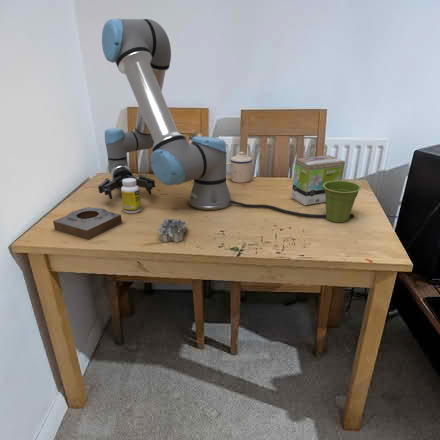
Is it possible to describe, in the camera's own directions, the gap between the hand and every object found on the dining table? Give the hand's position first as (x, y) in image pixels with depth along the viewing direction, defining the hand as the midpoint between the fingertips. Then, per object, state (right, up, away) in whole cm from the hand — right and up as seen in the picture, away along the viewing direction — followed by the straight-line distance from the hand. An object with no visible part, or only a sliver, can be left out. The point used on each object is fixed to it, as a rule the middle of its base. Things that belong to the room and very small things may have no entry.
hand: (130, 193), depth 142 cm
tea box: (+67, 0, +12) cm, 68 cm away
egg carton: (+16, -17, -15) cm, 28 cm away
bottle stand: (-12, -13, -8) cm, 19 cm away
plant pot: (+70, -10, -5) cm, 71 cm away
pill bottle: (0, -6, +3) cm, 7 cm away
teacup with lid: (+39, +13, +33) cm, 53 cm away
